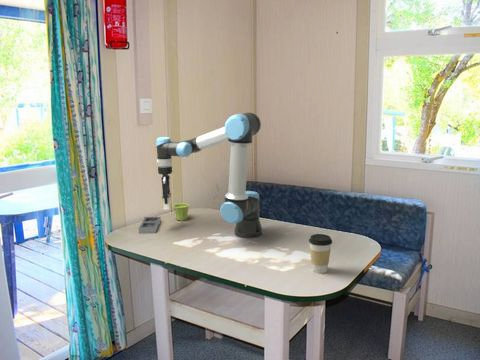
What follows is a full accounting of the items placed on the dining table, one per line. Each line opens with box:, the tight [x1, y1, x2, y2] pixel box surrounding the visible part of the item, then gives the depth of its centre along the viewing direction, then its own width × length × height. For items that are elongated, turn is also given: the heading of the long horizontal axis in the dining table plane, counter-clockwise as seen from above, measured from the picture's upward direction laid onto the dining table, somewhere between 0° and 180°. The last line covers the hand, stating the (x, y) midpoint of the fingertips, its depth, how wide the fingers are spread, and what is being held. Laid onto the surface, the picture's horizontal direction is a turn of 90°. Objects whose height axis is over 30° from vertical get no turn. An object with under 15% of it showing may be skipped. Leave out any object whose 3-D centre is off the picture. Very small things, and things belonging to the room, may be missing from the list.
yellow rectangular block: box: [161, 194, 173, 211], centre depth 249 cm, size 4×4×7 cm
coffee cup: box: [308, 233, 333, 274], centre depth 194 cm, size 10×10×15 cm
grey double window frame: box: [138, 216, 162, 234], centre depth 256 cm, size 9×20×3 cm, turn 2°
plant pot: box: [172, 202, 190, 222], centre depth 269 cm, size 9×9×9 cm
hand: (167, 207), depth 250 cm, fingers closed on yellow rectangular block, 4 cm apart
